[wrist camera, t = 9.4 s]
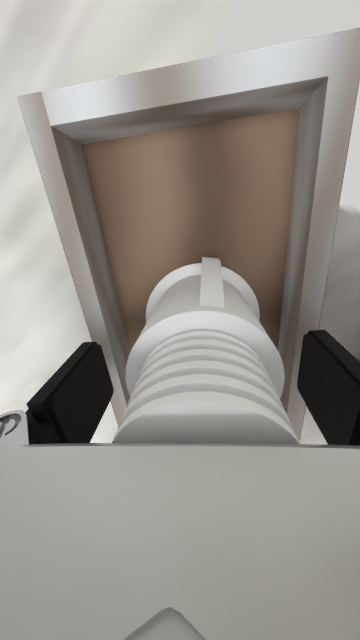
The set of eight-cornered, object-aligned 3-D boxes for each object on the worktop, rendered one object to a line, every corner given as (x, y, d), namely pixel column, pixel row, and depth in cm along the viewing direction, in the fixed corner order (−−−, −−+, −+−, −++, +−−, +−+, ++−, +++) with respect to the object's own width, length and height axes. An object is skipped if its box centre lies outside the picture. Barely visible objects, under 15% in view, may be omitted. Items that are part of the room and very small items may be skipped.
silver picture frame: (316, 85, 10) (368, 25, 7) (279, 430, 19) (294, 472, 16) (67, 129, 12) (16, 96, 8) (142, 430, 21) (131, 469, 17)
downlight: (244, 375, 16) (307, 583, 7) (146, 364, 16) (75, 548, 7) (271, 259, 13) (459, 344, 4) (148, 248, 13) (26, 300, 4)
